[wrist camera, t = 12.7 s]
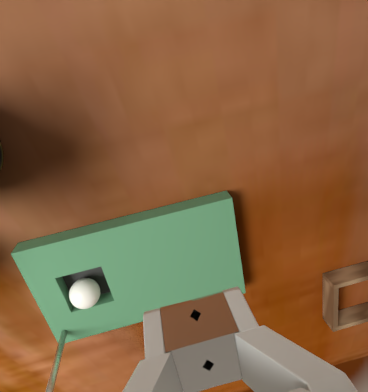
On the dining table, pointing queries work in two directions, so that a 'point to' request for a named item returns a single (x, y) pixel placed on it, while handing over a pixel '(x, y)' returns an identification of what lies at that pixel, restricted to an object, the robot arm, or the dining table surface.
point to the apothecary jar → (1, 156)
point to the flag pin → (56, 362)
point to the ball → (84, 293)
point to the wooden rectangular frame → (331, 292)
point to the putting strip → (134, 264)
